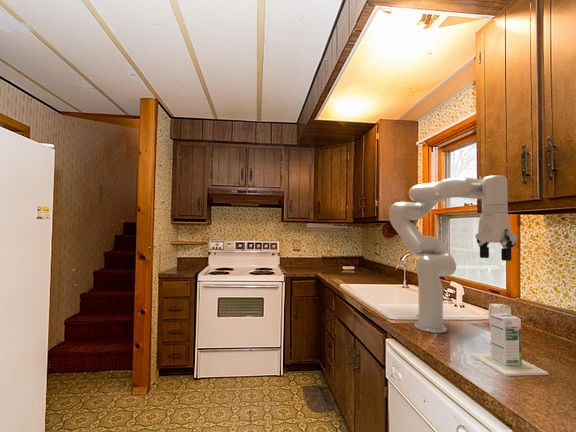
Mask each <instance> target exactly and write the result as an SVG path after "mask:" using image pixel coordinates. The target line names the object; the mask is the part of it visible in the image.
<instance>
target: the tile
mask: <svg viewBox="0 0 576 432" xmlns="http://www.w3.org/2000/svg"><path fill="white" fill-rule="evenodd" d="M470 357H472V358H474V359H475V360H477V361H479V362H481V363H482V364H484V365H485V366H487V367H489V368H490V369H493V370H495V371H496V372H498V373H499V374H501V375H502V376H504V377H509V376H510V377H511V376H515V377H516V376H517V377H519V376H548V375H549V374H550V373H549V372H548V371H547V370H544V369H542V368H540V367H537V366H536V365H534V364H531V363H529V362H528V361H527V360H523V359H522V365H507V366H505V365H503V364H501V363H499V362H498V361H496V360H494V359H492V358H491V353H470Z"/></svg>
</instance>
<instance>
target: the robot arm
mask: <svg viewBox="0 0 576 432" xmlns="http://www.w3.org/2000/svg"><path fill="white" fill-rule="evenodd" d="M408 196H409V199H410V200H411V201H413V202H411V201H399V202H395V203H393V204H392V205H391V206H390V208H389V212H388V215H389V216H388V218H389V222H390V224H391V226H392V228H393V229H394V230H395V231H396V232H397V234H398V235H399V237H400V238H401V240H402V242H403V243H404V245H405V246H406V248H407V249H408V252H409V253H410V254H411V255H413V256H415V257H418V259H417V260H416V263H415V269H416V272H417V273H416V274H417V280H418V313H417V315H416V316H415V317H416V318H417V321H415V323H414V327H415V328H416V329H417V330H420V331H422V332H423V331H424V332H427V333H432V334H443V333H446V332H447V331H448V328H447V326H445V325H444V289H443V284H442V281H441V279H440V277H448V276H452V275H453V274H454V273H456V271H457V264H456V261H455V259H454V257H453V256H452V254H451V252H449V251H448V250H449V249H448V248H447V247H446V246H445V244H444V243H443V242H442V241H441V240H440V239H439V238H438V237H435V236H432V235H425V234H422V233H421V232H420V231H419V229H418V227H417V225H415V223H412V222H411V221H413V220H414V221H419V220H422V219H423V218H425V217H426V216H427V214H429V213H430V211H432V209H433V208H434V207H435V206H436V205H437V203H438V202H439V203H440V202H444V201H446V200H447V199H450V198H454V199H455V198H462V199H463V198H464V199H474V200H481V214H480V218H479V220H478V221H479V222H478V233H476V234H475V239H476V243H477V244H478V245H477V246H478V247H479V259H489V258H490V247H489V245H490V243H499V244H500V245H501V247H502V248H501V250H500V251H501V254H500V256H501V259H500V260H501V261H503V262H505V261H507V262H508V261H509V262H510V261H512V260H513V259H512V249H514V246H515V245H516V242H517V240H518V238H519V237H518V235H517V234H515V233H513V232H512V229H511V228H512V227H511V221H510V220H511V219H510V215H509V214H508V213H509V210H508V208H509V207H508V178H507V177H506V176H504V175H501V174H499V175H498V174H497V175H495V174H494V175H488V176H484V177H482V179H479V178H473V177H462V176H461V177H452V178H445V179H441V180H440V181H436V182H435V181H434V182H428V183H427V182H425V183H418V184H415V185H413V186H412V187H410V189H409V190H408ZM410 220H411V221H410Z"/></svg>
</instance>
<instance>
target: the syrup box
mask: <svg viewBox="0 0 576 432" xmlns="http://www.w3.org/2000/svg"><path fill="white" fill-rule="evenodd" d="M521 321H522V320H521V318H520V317H519V316H517V315H514V314H512V313H511V314H506V313H505V314H490V325H489V327H490V326H491V330H490V341H491V346H490V354H491V358H492V359H494V360H496V361H498V362H499V363H501V364H503V365H505V366H507V365H522V360H523V353H522V350H523V349H522V323H521Z"/></svg>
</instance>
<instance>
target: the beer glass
mask: <svg viewBox="0 0 576 432" xmlns="http://www.w3.org/2000/svg"><path fill="white" fill-rule="evenodd" d="M511 308H512V307H511V306H510V305H507V304H502V303H493V302H492V303H491V302H490V303H488V312H487V313H488V315H487V316H488V317H487V318H488V324H489V329H490V331H491V326H490V314H505V313H506V314H511V315H512V310H511ZM489 346H490V347H491V340H490V343H489Z"/></svg>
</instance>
